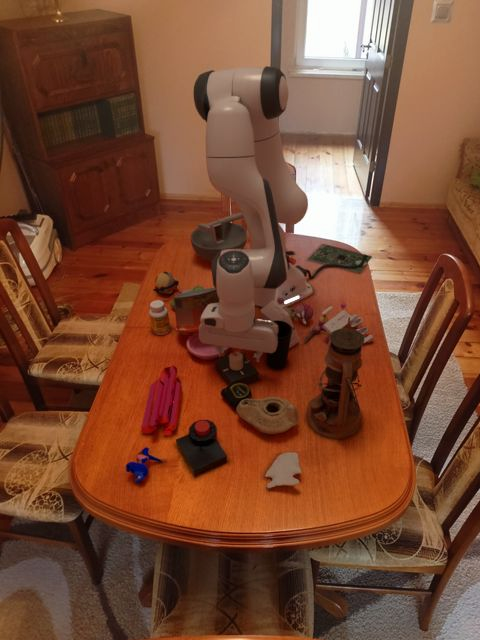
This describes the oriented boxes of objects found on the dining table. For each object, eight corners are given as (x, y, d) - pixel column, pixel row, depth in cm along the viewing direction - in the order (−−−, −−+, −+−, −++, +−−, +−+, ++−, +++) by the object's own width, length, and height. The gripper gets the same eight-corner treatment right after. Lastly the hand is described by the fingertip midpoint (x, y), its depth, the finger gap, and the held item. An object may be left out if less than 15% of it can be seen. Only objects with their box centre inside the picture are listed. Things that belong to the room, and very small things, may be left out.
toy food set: (182, 322, 149) (181, 313, 147) (164, 302, 157) (163, 293, 155) (220, 309, 154) (219, 300, 152) (201, 290, 163) (200, 281, 161)
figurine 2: (270, 312, 136) (322, 304, 136) (264, 297, 147) (312, 290, 148) (274, 347, 140) (325, 339, 141) (268, 330, 152) (315, 322, 153)
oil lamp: (238, 405, 122) (237, 382, 117) (298, 408, 121) (299, 385, 116) (233, 439, 114) (232, 416, 108) (297, 443, 113) (299, 419, 108)
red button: (206, 423, 113) (205, 418, 112) (212, 433, 110) (212, 427, 109) (192, 429, 111) (192, 423, 110) (199, 438, 109) (198, 433, 108)
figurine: (137, 470, 100) (143, 487, 103) (157, 446, 106) (163, 462, 109) (119, 466, 102) (126, 483, 105) (140, 443, 108) (146, 459, 111)
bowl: (192, 246, 187) (190, 222, 180) (245, 244, 188) (245, 220, 182) (192, 273, 171) (190, 248, 165) (250, 270, 173) (249, 245, 166)
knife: (285, 254, 181) (285, 256, 181) (294, 252, 182) (294, 253, 183) (266, 240, 190) (266, 241, 191) (275, 237, 192) (275, 239, 192)
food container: (206, 286, 150) (213, 320, 152) (159, 297, 141) (167, 333, 144) (233, 285, 137) (240, 322, 139) (183, 298, 128) (191, 337, 131)
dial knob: (245, 367, 128) (245, 356, 126) (233, 372, 127) (232, 361, 125) (239, 360, 131) (238, 349, 128) (227, 364, 130) (226, 353, 127)
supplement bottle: (166, 322, 149) (161, 296, 143) (173, 331, 146) (169, 305, 139) (149, 328, 147) (144, 302, 141) (157, 337, 143) (152, 311, 137)
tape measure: (219, 398, 124) (219, 387, 122) (242, 387, 127) (242, 377, 125) (233, 414, 120) (233, 404, 117) (257, 403, 123) (256, 392, 120)
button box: (210, 427, 116) (209, 415, 114) (231, 459, 109) (231, 448, 107) (174, 442, 113) (172, 430, 110) (194, 476, 106) (192, 465, 103)
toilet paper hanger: (247, 219, 186) (245, 204, 182) (267, 226, 176) (266, 210, 173) (197, 236, 175) (194, 219, 172) (217, 243, 166) (214, 226, 163)
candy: (345, 349, 139) (347, 332, 135) (317, 347, 140) (318, 330, 136) (344, 313, 153) (347, 297, 149) (319, 311, 153) (320, 295, 150)
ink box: (272, 334, 145) (258, 310, 136) (284, 324, 145) (271, 299, 136) (288, 350, 139) (275, 325, 130) (301, 339, 140) (289, 313, 131)
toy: (160, 267, 165) (142, 272, 151) (185, 269, 164) (169, 274, 150) (160, 290, 168) (142, 297, 153) (185, 292, 166) (169, 299, 152)
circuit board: (359, 273, 172) (359, 271, 171) (308, 259, 179) (308, 258, 179) (372, 257, 181) (372, 255, 180) (322, 244, 188) (323, 243, 188)
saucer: (212, 331, 145) (211, 322, 143) (240, 350, 139) (239, 341, 137) (178, 349, 139) (177, 341, 137) (206, 370, 132) (205, 361, 130)
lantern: (303, 394, 125) (311, 296, 106) (353, 393, 125) (370, 296, 106) (310, 445, 112) (320, 345, 93) (366, 444, 112) (387, 344, 93)
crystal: (137, 425, 110) (154, 354, 129) (140, 440, 113) (155, 369, 132) (174, 426, 110) (185, 355, 129) (175, 441, 114) (186, 370, 133)
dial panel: (241, 359, 136) (240, 350, 134) (258, 380, 129) (258, 371, 127) (215, 368, 133) (214, 360, 131) (232, 390, 126) (231, 382, 124)
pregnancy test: (352, 320, 146) (354, 317, 146) (332, 336, 138) (334, 333, 137) (333, 304, 148) (335, 301, 147) (312, 319, 140) (314, 316, 139)
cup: (270, 375, 131) (271, 341, 123) (258, 359, 136) (257, 325, 128) (295, 366, 133) (297, 332, 125) (281, 350, 138) (283, 317, 131)
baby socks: (357, 311, 148) (359, 317, 149) (341, 319, 148) (343, 325, 150) (374, 336, 139) (376, 342, 141) (357, 345, 139) (360, 350, 141)
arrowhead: (260, 483, 102) (269, 451, 110) (263, 491, 103) (271, 458, 111) (298, 481, 100) (303, 448, 108) (300, 489, 101) (306, 456, 109)
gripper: (281, 313, 119) (280, 356, 128) (202, 303, 123) (206, 345, 132) (275, 329, 114) (275, 372, 123) (193, 318, 118) (199, 360, 127)
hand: (239, 358), depth 128 cm, fingers open, 8 cm apart
